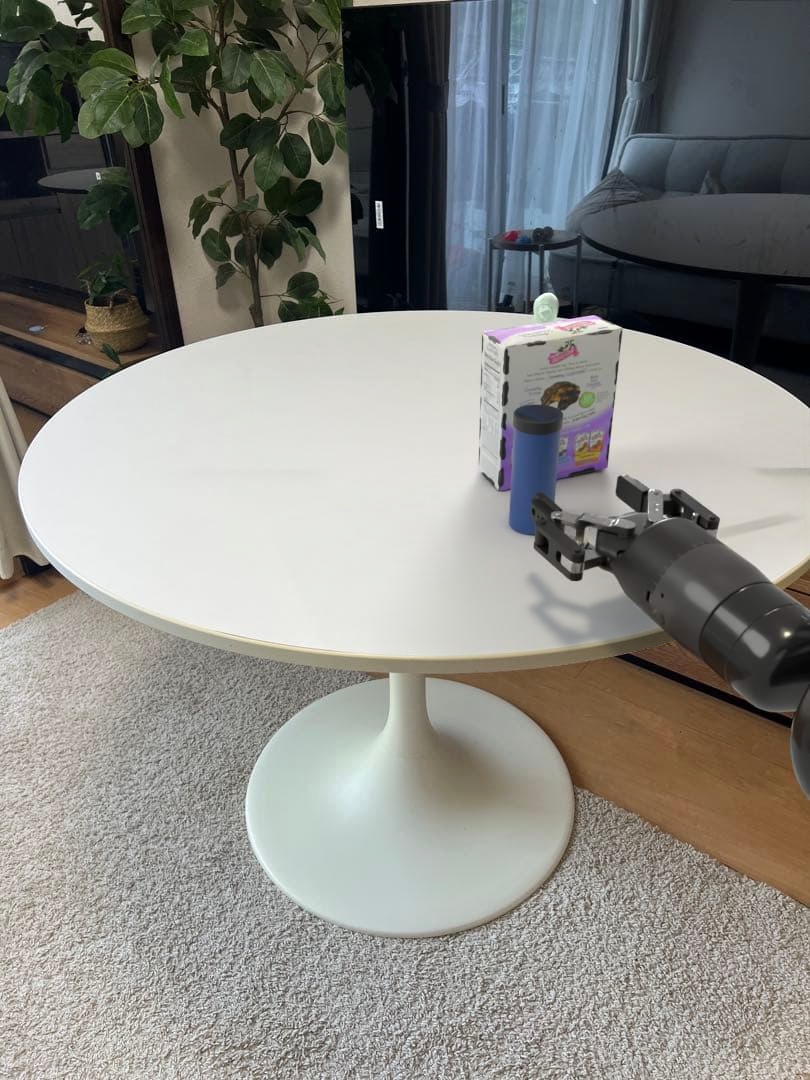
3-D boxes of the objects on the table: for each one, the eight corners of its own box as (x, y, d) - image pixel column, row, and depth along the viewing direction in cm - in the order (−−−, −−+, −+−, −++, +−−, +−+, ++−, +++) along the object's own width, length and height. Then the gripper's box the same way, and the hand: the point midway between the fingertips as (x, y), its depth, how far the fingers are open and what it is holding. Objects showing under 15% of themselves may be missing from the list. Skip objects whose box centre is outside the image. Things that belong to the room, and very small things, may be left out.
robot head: (530, 326, 137) (532, 287, 134) (553, 326, 137) (556, 286, 133) (534, 340, 130) (536, 299, 127) (559, 340, 130) (562, 299, 126)
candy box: (581, 450, 94) (595, 312, 86) (608, 470, 90) (626, 327, 81) (476, 470, 90) (479, 328, 82) (498, 492, 86) (505, 344, 77)
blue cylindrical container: (539, 509, 82) (547, 401, 76) (562, 529, 79) (572, 418, 72) (500, 518, 81) (504, 408, 75) (521, 539, 77) (528, 426, 71)
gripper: (787, 525, 57) (651, 440, 70) (620, 568, 53) (508, 469, 66) (765, 608, 61) (640, 513, 74) (607, 655, 57) (504, 545, 70)
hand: (578, 493), depth 70 cm, fingers open, 8 cm apart
